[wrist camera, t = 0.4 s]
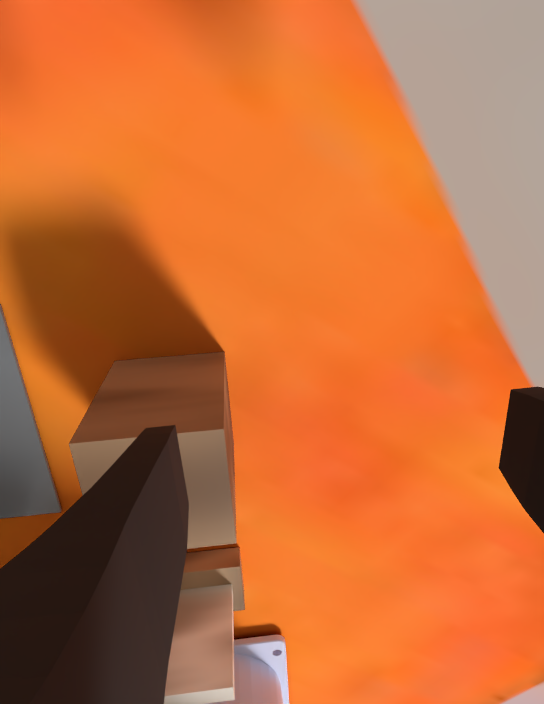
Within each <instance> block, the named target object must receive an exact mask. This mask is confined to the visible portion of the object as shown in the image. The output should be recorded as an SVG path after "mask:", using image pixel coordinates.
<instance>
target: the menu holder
mask: <svg viewBox="0 0 544 704" xmlns="http://www.w3.org/2000/svg"><path fill="white" fill-rule="evenodd" d="M238 610H245V603H244V585H243V576H242V567H241V557H240V548H239V547H236V548H227V549H218V550H209V551H200V552H191V553H186V559H185V566H184V572H183V578H182V584H181V591H180V597H179V603H178V609H177V615H176V621H175V627H174V633H173V639H172V645H171V651H170V657H169V664H168V672H167V680H166V688H165V698H164V704H207V703H215V702H222V701H230V700H235V687H234V622H233V611H238Z"/></svg>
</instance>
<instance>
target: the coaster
mask: <svg viewBox="0 0 544 704" xmlns="http://www.w3.org/2000/svg"><path fill="white" fill-rule="evenodd" d="M61 511H62V508H61V505H60V502H59V498H58V495H57V492H56V488H55V485H54V481H53V478H52V475H51V471H50V468H49V465H48V461H47V458H46V454H45V451H44V448H43V444H42V441H41V438H40V434H39V431H38V428H37V424H36V421H35V417H34V414H33V411H32V407H31V404H30V401H29V397H28V394H27V391H26V387H25V384H24V380H23V377H22V374H21V370H20V367H19V364H18V360H17V357H16V354H15V350H14V347H13V343H12V340H11V337H10V333H9V330H8V327H7V323H6V320H5V316H4V313H3V310H2V306H1V304H0V519H1V518H11V517H20V516H30V515H39V514H49V513H59V512H61Z"/></svg>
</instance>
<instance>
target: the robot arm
mask: <svg viewBox="0 0 544 704" xmlns="http://www.w3.org/2000/svg"><path fill="white" fill-rule="evenodd" d="M499 469H500V471H501V472H502V474H503V476H504V478H505V479H506V481H507V483H508V484H509V486H510V488H511V489H512V491H513V493H514V494H515V496H516V497H517V499H518V500H519V502H520V503H521V505H522V506H523V508H524V509H525V511H526V512H527V513H528V514H529V516H530V517H531V518H532V519H533V521H534V522H535V523H536V524H537V526H538V527H539V528H540V529H541V531H542V532H543V533H544V388H542V387H531V388H522V389H512V390H511V392H510V399H509V405H508V412H507V418H506V425H505V431H504V438H503V444H502V450H501V457H500V463H499ZM188 518H189V501H188V495H187V489H186V483H185V478H184V472H183V466H182V460H181V454H180V448H179V443H178V437H177V431H176V425H169V426H160V427H150V428H145V429H144V430H143V431H142V432H141V434H140V435H139V436H138V437H137V438H136V439H135V440H134V441H133V442H132V444H131V445H130V446H129V447H128V448H127V449H126V450H125V451H124V452H123V454H122V455H121V456H120V457H119V458H118V459H117V460H116V461H115V462H114V464H113V465H112V466H111V467H110V468H109V469H108V470H107V471H106V472H105V473H104V474H103V475H102V476H101V478H100V479H99V480H98V481H97V482H96V483H95V484H94V485H93V486H92V487H91V488H90V489H89V490H88V491H87V492H86V493H85V494H84V495H83V496H82V497H81V498H80V499H79V500H78V501H77V502H76V503H75V504H74V505H73V506H72V507H70V508H69V509H68V510H67V511H66V512H65V513H64V514H63V515H62V516H61V517H60V518H59V519H58V520H57V521H56V522H55V523H54V524H53V525H52V526H51V527H50V528H48V529H47V530H46V531H45V532H44V533H43V534H42V535H41V536H39V537H38V538H37V539H36V540H35V541H34V542H32V543H31V544H30V545H29V546H28V547H27V548H25V549H24V550H23V551H22V552H20V553H19V554H18V555H17V556H16V557H14V558H13V559H12V560H11V561H9V562H8V563H7V564H6V565H5V566H3V567H2V568H1V569H0V704H164V698H165V688H166V680H167V672H168V664H169V657H170V651H171V645H172V639H173V633H174V627H175V621H176V615H177V609H178V603H179V597H180V591H181V584H182V578H183V572H184V566H185V559H186V553H187V541H188ZM234 687H235V700H230V701H222V702H215V703H207V704H289V693H288V677H287V661H286V645H285V639H284V637H283V636H281V635H268V636H260V637H252V638H244V639H236V640H234Z"/></svg>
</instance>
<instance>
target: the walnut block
mask: <svg viewBox="0 0 544 704" xmlns="http://www.w3.org/2000/svg"><path fill="white" fill-rule="evenodd" d="M169 425H176V431H177V437H178V443H179V448H180V454H181V460H182V466H183V472H184V478H185V483H186V489H187V495H188V501H189V518H188V541H187V549H190V548H199V547H208V546H217V545H226V544H235V543H236V509H235V472H234V440H233V431H232V421H231V411H230V401H229V391H228V382H227V372H226V362H225V352H214V353H202V354H190V355H178V356H166V357H155V358H143V359H131V360H119V361H114V363H113V365H112V367H111V369H110V370H109V372H108V374H107V376H106V378H105V379H104V381H103V383H102V385H101V387H100V388H99V390H98V392H97V394H96V396H95V397H94V399H93V401H92V403H91V405H90V406H89V408H88V410H87V412H86V414H85V415H84V417H83V419H82V421H81V423H80V425H79V426H78V428H77V430H76V432H75V434H74V435H73V437H72V439H71V441H70V443H69V446H70V450H71V454H72V457H73V461H74V465H75V468H76V472H77V476H78V480H79V483H80V487H81V491H82V494H83V495H84V494H85V493H86V492H87V491H88V490H89V489H90V488H91V487H92V486H93V485H94V484H95V483H96V482H97V481H98V480H99V479H100V478H101V476H102V475H103V474H104V473H105V472H106V471H107V470H108V469H109V468H110V467H111V466H112V465H113V464H114V462H115V461H116V460H117V459H118V458H119V457H120V456H121V455H122V454H123V452H124V451H125V450H126V449H127V448H128V447H129V446H130V445H131V444H132V442H133V441H134V440H135V439H136V438H137V437H138V436H139V435H140V434H141V432H142V431H143V430H144V429H145V428H150V427H160V426H169Z"/></svg>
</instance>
